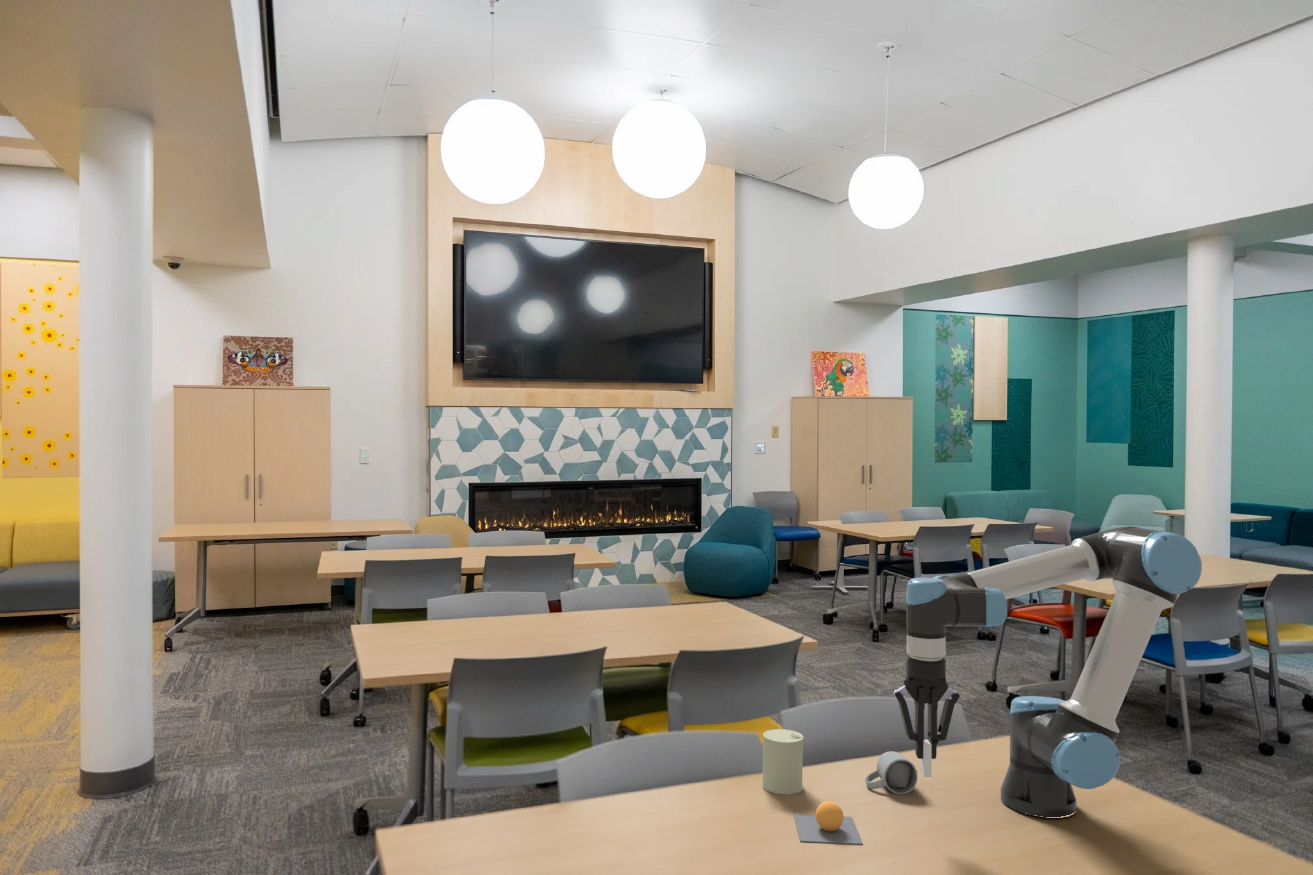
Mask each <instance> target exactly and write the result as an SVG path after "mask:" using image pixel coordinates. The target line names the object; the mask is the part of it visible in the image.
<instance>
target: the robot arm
mask: <svg viewBox="0 0 1313 875" xmlns="http://www.w3.org/2000/svg"><path fill="white" fill-rule="evenodd" d="M1198 552H1199V551H1198V549H1197V547H1196V546H1195V545H1194V544H1193V542H1191V541H1190V540H1189V539H1188V538H1186V537H1185V536H1183V535H1180V534H1177V533H1173V532H1170V531H1168V530H1157V529H1150V528H1143V527H1139V526H1138V527H1137V526H1130V525H1129V526H1120V527H1114V528H1111V529H1108V530H1107V529H1106V530H1103V531H1100V532H1096V533H1092V534H1088V535H1084V536H1082V537H1078V538H1075V539H1074V540H1072V542H1071V544H1070V545H1067V546H1062V547H1059V548H1055V549H1052V550H1047V551H1044V552H1041V553H1036V554H1033V555H1029V556H1025V557H1022V558H1018V559H1014V560H1011V561H1007V562H1003V563H1000V564H995V565H992V566H988V567H985V568H981V569H980V568H979V569H977V570H974V571H970V572H966V573H961V574H956V575H954V576H948V575H937V576H936V575H935V576H933V577H923V576H922V577H913V578H911V579H909V580H908V581H907V584H906V593H905V594H906V595H905V596H906V597H905V607H906V608H905V610H906V614H905V615H906V653H907V654H908V655H907V656H906V661H905V662H906V669H905V670H906V677H905V679H904V681H903V686H901V687H899V688H893V690H892V694H893V695H894V696H895V698H896V700H897V702H898V707H899V710H900V715H901V718H902V723H903V727H904V732H905V735H906V736H907V738H908V739H909V740H910V741H915V742H914V743H915V750H914V751H915V752H914V753H915V754H914V755H915V756H916V757H917V759H920V762H919V763H920V767H919V768H920V773H921V775H922V776H923V777H924V778H932V775H933V774H932V760H936V759H937V756H938V755H937V752H938V751H937V745H938V744H939V742H941V741H946V740H947V737H948V733H949V729H950V724H951V721H952V720H951V719H952V718H953V713H954V708H955V704H956V703H957V702H958V701H959V699H960V697H961V696H960V694H959V692H958V691H956V689H953V688H950V687H949V684H948V682H947V679H946V678H947V677H946V676H947V675H946V674H947V672H946V671H947V668H946V664H947V663H946V659H945V657H946V655H947V648H946V647H947V645H946V643H947V642H946V639H947V638H946V636H947V631H946V629H947V628H946V627H984V628H988V627H994V626H996V627H997V626H998V627H999V626H1001V625H1002V624H1004V623H1005V621H1006V620H1007V616H1008V604H1007V600H1008V599H1012V598H1016V597H1020V596H1023V595H1027V594H1031V593H1034V592H1038V591H1042V590H1047V589H1050V588H1054V587H1058V586H1061V585H1065V584H1069V583H1072V582H1077V581H1079V580H1083V579H1084V580H1085V581H1087V582H1095V581H1099V580H1106V579H1108V580H1109V579H1111V583H1112V585H1113V587H1114V590H1115V595H1114V597H1113V600H1112V601H1111V604H1110V607H1109V609H1108V611H1107V613H1106V616H1105V618H1104V620H1103V623H1102V625H1101V627H1100V629H1099V632H1098V634H1097V637H1096V639H1095V641H1094V644H1093V646H1092V648H1091V651H1090V653H1089V655H1088V656H1087V660H1086V662H1085V665H1084V667H1083V669H1082V671H1081V674H1080V676H1079V679H1078V681H1077V683H1076V686H1075V687H1074V690H1073V693H1072V694H1071V697H1070V698H1069V699H1068V700H1064V699H1061V698H1055V697H1049V696H1038V695H1027V696H1026V695H1025V696H1022V695H1021V696H1016V697H1015V698H1013V699H1012V700H1011V703H1010V704H1011V705H1010V712H1009V716H1010V717H1009V718H1010V719H1009V720H1010V721H1009V723H1010V725H1009V766H1008V768H1007V770H1006V773H1005V775H1004V776H1005V777H1004V778H1003V781H1002V783H1001V786H1000V801H1001V800H1002V801H1003V802H1002V801H1001V802H1002V803H1003V804H1004V805H1005V804H1006V805H1007V807H1008V806H1009V807H1010V808H1009V807H1008V808H1009V809H1011V808H1012V809H1011V810H1013V809H1014V811H1015V810H1017V811H1016V812H1018V811H1019V812H1018V813H1020V812H1022V813H1021V814H1023V813H1027V814H1030V815H1037V816H1043V817H1061V816H1066V815H1070V814H1072V813H1074V812H1075V811H1076V812H1077V809H1076V808H1078V806H1077V804H1078V803H1077V797H1076V794H1075V791H1074V788H1073V786H1074V787H1076V788H1079V789H1084V790H1085V789H1086V790H1093V789H1096V788H1098V787H1103V786H1105V785H1106V784H1108V783H1110V782H1111V781H1112V780H1113V779H1114V777H1115V776H1116V775H1117V773H1118V771H1119V769H1120V766H1121V755H1120V754H1119V749H1118V747H1117V745H1116V742H1117V739H1118V737H1119V734H1120V729H1119V727H1118V725H1117V723H1116V719H1117V716H1118V714H1119V712H1120V709H1121V707H1122V705H1123V702H1124V701H1125V698H1126V696H1127V693H1128V690H1129V688H1130V685H1131V684H1132V681H1133V679H1134V676H1135V674H1136V672H1137V670H1138V667H1139V665H1140V662H1141V660H1142V658H1143V656H1144V654H1145V651H1146V648H1147V646H1148V644H1149V641H1150V639H1151V637H1152V634H1153V632H1154V629H1155V627H1156V625H1157V623H1158V621H1159V619H1160V615H1161V613H1162V611H1164V610H1167V609H1169V608H1172V607H1174V605H1175V603H1176V601H1177V598H1178V596H1179V595H1180V594H1183V593H1186V592H1187V591H1189V590H1192V589H1193V588H1194V587H1195V586H1197V584H1198V582H1199V581H1200V578H1201V576H1202V570H1203V565H1202V564H1203V563H1202V559H1201V556H1200V555H1199V553H1198ZM907 693H908V694H909V695H910V697H911V698H912V699H913V701H914V702H913V703H914V727H913V723H912V720H911V715H910V711H909V707H908V703H907V701H906V699H907V698H908V696H907ZM943 696H945V699H944V703H943V706H942V707H943V708H942V710H941V715H940V719H939V723H938V709H939V708H938V706H939V702H940V700H941V699H942V698H943ZM926 705H927V738H928V739H925V706H926ZM1006 805H1005V806H1006ZM1027 814H1026V815H1027ZM1030 815H1029V816H1030Z"/></svg>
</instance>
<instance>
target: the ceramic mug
mask: <svg viewBox="0 0 1313 875" xmlns="http://www.w3.org/2000/svg"><path fill="white" fill-rule="evenodd" d="M864 778H865V780H864V782H865V785H866V787H867V788H868V789H870V790H871V789H872V790H877V789H881V788H883V787H886V788H887V789H888V790H889V791H890V792H892V793H894V794H897V795H905V794H909V793H910V792H911V791H912V790H914V788H915V787H916V786H917V782H918V778H919V777H918V770H917V768H916V766H915V764H913V762H911V761H910V760H909V759H908V758H906V757H905V756H904V755H903V754H901V753H899V752H897V751H893V750H892V751H885V752H883V753H882V754H880V756H879V757H878V759H877V762H876V770H874V771H872V772H871V773H869V774H867V776H866V777H864ZM878 778H879V780H876V781H874V780H875V779H878Z"/></svg>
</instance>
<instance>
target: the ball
mask: <svg viewBox="0 0 1313 875" xmlns="http://www.w3.org/2000/svg"><path fill="white" fill-rule="evenodd" d="M815 815H816V820H817V823H818V824H819V826H820V827H821V828H822V829H824V830H826V831H835V830H837V829H839V828H840V827H841V825H842V823H843V819H844V812H843V810H842V808H841V807H840V806H839V804H837V803H836V802H834V801H828V800H827V801H823V802H822V803H820V804H819V805H818V807H817V808H816V809H815Z"/></svg>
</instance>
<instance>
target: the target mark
mask: <svg viewBox="0 0 1313 875" xmlns="http://www.w3.org/2000/svg"><path fill="white" fill-rule="evenodd" d="M843 816H844V815H843ZM793 817H794V821H795V826H796V830H797V833H798V838H799V842H800V843H801V842H802V843H820V844H824V843H825V844H841V845H842V844H844V845H863V842H862V838H861V836H860V834H859V830H858V829H857V826H856V824H855V821H854V818H853V816H844V819H843V823H842V825H841V827H840V828H839V829H837V830H835V831H826V830H824V829H822V828H821V827H820V826H819V824H818V823H817V820H816V814H799V813H793Z"/></svg>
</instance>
